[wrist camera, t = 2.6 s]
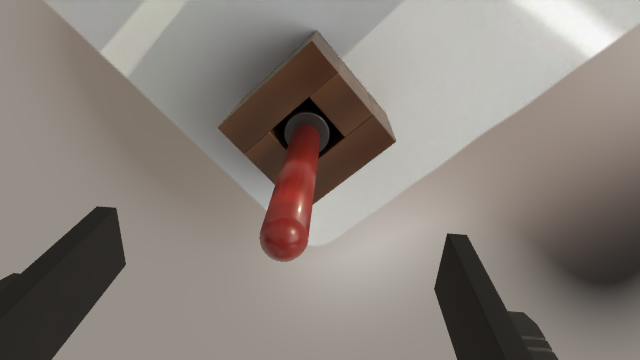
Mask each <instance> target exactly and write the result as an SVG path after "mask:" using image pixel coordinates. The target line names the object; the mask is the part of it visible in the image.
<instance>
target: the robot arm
mask: <svg viewBox="0 0 640 360" xmlns="http://www.w3.org/2000/svg"><path fill="white" fill-rule="evenodd" d="M125 265H126V262H125V257H124V251H123V245H122V239H121V233H120V227H119V221H118V215H117V209H116V208H111V207H98V206H97V207H96V208H95V209H94V210H93V211H91V212H90V213H89V214H88V215H87V216H86V217H85V218H83V219H82V220H81V221H80V222H79V223H78V224H77V225H76V226H74V227H73V228H72V229H71V230H70V231H69V232H68V233H67V234H65V235H64V236H63V237H62V238H61V239H60V240H58V241H57V242H56V243H55V244H54V245H53V246H52V247H51V248H49V249H48V250H47V251H46V252H45V253H44V254H43V255H42V256H40V257H39V258H38V259H37V260H36V261H35V262H34V263H32V264H31V265H30V266H29V267H28V268H27V269H26V270H25V271H23V272H22V273H21V274H17V273H13V274H11V275H9V276H7V277H5V278H4V279H2V280H0V360H52V358H53V357H54V356H55V355H56V353H57V352H58V351H59V349H60V348H61V347H62V345H63V344H64V343H65V342H66V341H67V339H68V338H69V337H70V335H71V334H72V333H73V332H74V330H75V329H76V328H77V326H78V325H79V324H80V323H81V321H82V320H83V319H84V317H85V316H86V315H87V314H88V312H89V311H90V310H91V309H92V307H93V306H94V305H95V303H96V302H97V301H98V300H99V298H100V297H101V296H102V294H103V293H104V292H105V291H106V289H107V288H108V287H109V285H110V284H111V283H112V282H113V280H114V279H115V278H116V276H117V275H118V274H119V273H120V271H121V270H122V269H123V268H124V266H125ZM434 290H435V293H436V296H437V299H438V302H439V305H440V308H441V311H442V314H443V317H444V320H445V323H446V326H447V329H448V332H449V335H450V338H451V342H452V345H453V347H454V350H455V354H456V357H457V360H558V358H557V357H556V355H555V354H554V353H553V352H552V349H551V347H550V345H549V344H548V342H547V341H545V337H544V335H543V334H542V332H541V330H540V329H539V327H538V325H537V324H536V323H535V322H533V321H532V320H531V319H530V318H529V317H528V316H527V315H526V314H525V313H523V312H511V311H507V309H506V308H505V306H504V304H503V302H502V300H501V298H500V296H499V295H498V293H497V291H496V289H495V287H494V285H493V283H492V282H491V280H490V278H489V276H488V274H487V272H486V270H485V268H484V267H483V265H482V263H481V261H480V259H479V257H478V255H477V254H476V251H475V250H474V248H473V246H472V244H471V242H470V240H469V238H468V237H467V235H459V234H447V237H446V241H445V245H444V250H443V254H442V258H441V262H440V267H439V271H438V275H437V279H436V284H435V288H434Z"/></svg>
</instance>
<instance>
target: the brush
mask: <svg viewBox="0 0 640 360" xmlns="http://www.w3.org/2000/svg"><path fill="white" fill-rule="evenodd" d="M329 135H330V120H329V119H328V118H327V117H326V115H325V114H324V113H323V112H322V111H321V110H320V109H319V108H318V106H317V105H316V104H315V103H314V102H313V101H312V100H311V99H310V96H309V97H308V98H307V99H306V100H305V101H304V102H302V103H301V104H300V105H299V106H298V107H297V108H296V109H294V110H293V111H292V112H291V114H290V116H289V119H288V122H287V124H286V127H285V131H284V136H285V140H286V142H287V144H288V148H287V151H286V154H285V157H284V160H283V163H282V167H281V170H280V173H279V176H278V179H277V182H276V185H275V188H274V191H273V194H272V197H271V200H270V203H269V207H268V210H267V213H266V216H265V219H264V222H263V225H262V228H261V232H260V243H261V247H262V249H263V250H264V252H265V253H266V254H267V255H268V256H269V257H270V258H272V259H274V260H277V261H281V262H286V261H291V260H294V259H295V258H297V257H299V256H300V255H301V254H302V253H303V251H304V250H305V248H306V246H307V243H308V237H309V228H310V220H311V212H312V204H313V196H314V188H315V180H316V172H317V164H318V156H319V152H320V151H322V150H323V149H324V148H325V147H326V145H327V143H328V141H329Z"/></svg>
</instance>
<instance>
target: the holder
mask: <svg viewBox="0 0 640 360" xmlns="http://www.w3.org/2000/svg"><path fill="white" fill-rule="evenodd" d="M309 96H310V99H311V100H312V101H313V102H314V103H315V104H316V105H317V106H318V108H319V109H320V110H321V111H322V112H323V113H324V114H325V115H326V117H327V118H328V119H329V120H330V121H331V122H330V135H329V141H328V143H327V145H326V147H325V148H324V149H323V150H322V151H320V152H319V156H318V164H317V172H316V180H315V188H314V196H313V204H314V203H316V202H317V201H318V200H320V199H321V198H322V197H324V196H325V195H326V194H328V193H329V192H330V191H331V190H333V189H334V188H335V187H337V186H338V185H339V184H341V183H342V182H343V181H345V180H346V179H347V178H349V177H350V176H351V175H353V174H354V173H355V172H357V171H358V170H359V169H361V168H362V167H363V166H365V165H366V164H367V163H369V162H370V161H371V160H372V159H374V158H375V157H376V156H378V155H379V154H380V153H382V152H383V151H384V150H386V149H387V148H388V147H390V146H391V145H392V144H394V143H395V142H396V139H395V136H394V134H393V131H392V129H391V126H390V123H389V121H388V118H387V115H386V113H385V112H384V111H383V109H382V108H381V107H380V106H379V105H378V103H377V102H376V101H375V100H374V99H373V97H372V96H371V95H370V94H369V93H368V92H367V90H366V89H365V88H364V86H363V85H362V84H361V83H360V82H359V80H358V79H357V78H356V77H355V76H354V74H353V73H352V72H351V71H350V69H349V68H348V67H347V66H346V65H345V63H344V62H343V61H342V60H341V59H340V57H338V55H337V54H336V52H335V51H334V50H333V49H332V48H331V46H330V45H329V44H328V43H327V42H326V40H325V39H324V38H323V37H322V35H321V34H320V33H319V32H318V31H316V32H315V33H314V34H313V35H312V36H310V37H309V38H308V39H307V40H306V41H305V42H304V43H303V44H302V45H301V46H300V47H299V48H298V49H297V50H295V51H294V52H293V53H292V54H291V55H290V56H289V57H288V58H287V59H286V60H285V61H284V62H283V63H282V64H280V65H279V66H278V67H277V68H276V69H275V70H274V71H273V72H272V73H271V74H270V75H269V76H268V77H267V78H265V79H264V80H263V81H262V82H261V83H260V84H259V85H258V86H257V87H256V88H255V89H254V90H253V91H252V92H250V93H249V94H248V95H247V96H246V97H245V98H244V99H243V100H242V101H241V102H240V103H239V104H238V105H237V106H236V107H235V108H234V110H233V111H232V112H231V113H230V114H229V115H228V116H227V118H226V119H225V120H224V121H223V122H222V123H221V124H220V125H219V127H218V129H219V130H220V131H221V132H222V133H223V134H224V135H225V136H226V137H227V138H228V139H229V140H230V141H231V142H232V143H233V144H234V145H235V146H236V147H237V148H238V149H239V150H240V151H241V152H242V153H244V154H245V155H246V156H247V157H248V158H249V159H250V160H251V161H252V162H253V163H254V164H255V165H256V166H257V167H258V168H259V169H260V170H261V171H262V172H263V173H264V174H265V175H266V176H267V177H268V178H269V179H270V180H271V181H272V182H273V183H274V184H275V185H276V182H277V179H278V176H279V173H280V170H281V167H282V163H283V160H284V157H285V154H286V151H287V148H288V144H287V142H286V140H285V136H284V131H285V127H286V124H287V122H288V119H289V116H290V115H289V114H290V113H291V112H292V111H293V110H294V109H296V108H297V107H298V106H299V105H300V104H301V103H302V102H304V101H305V100H306V99H307V98H308V97H309ZM313 204H312V205H313Z"/></svg>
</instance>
